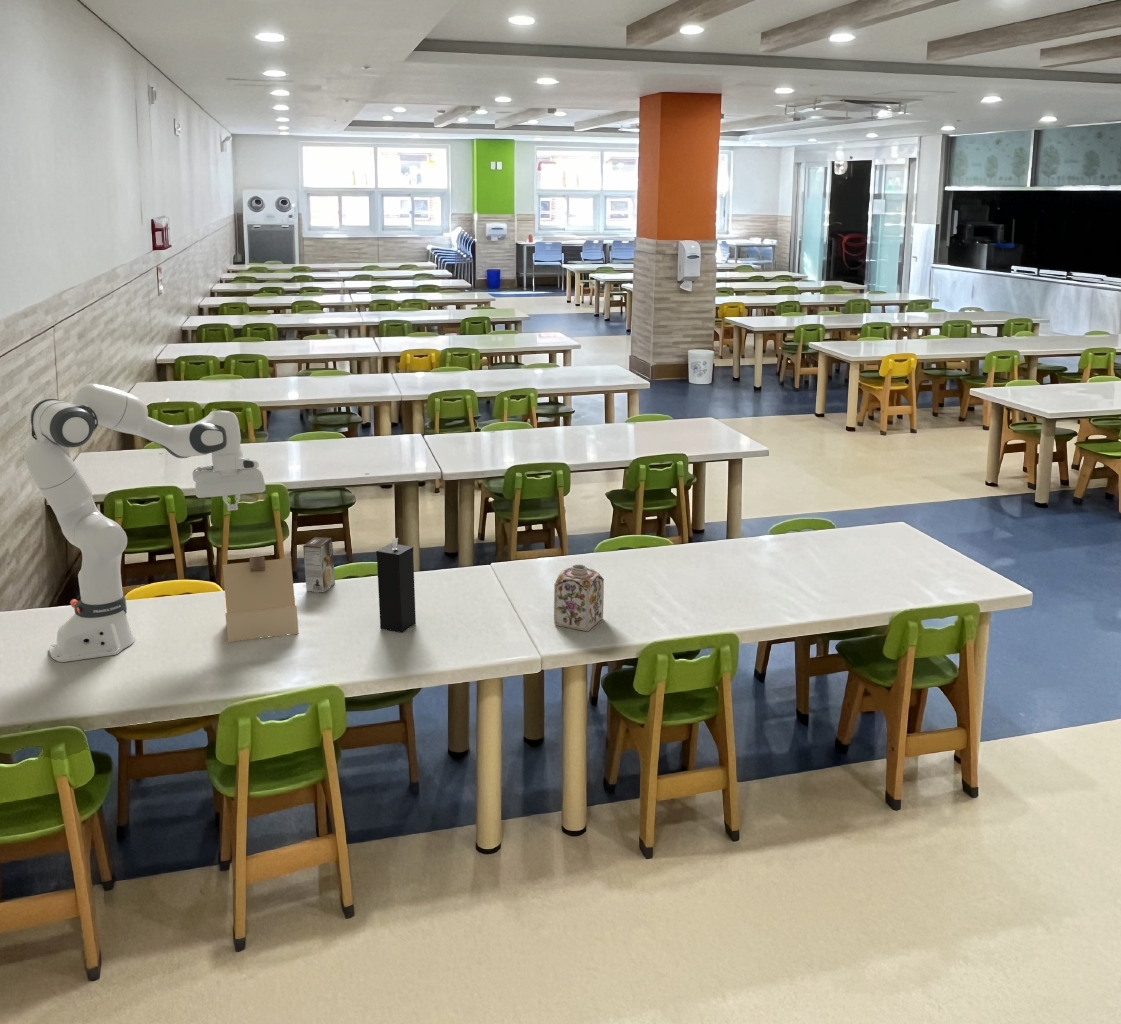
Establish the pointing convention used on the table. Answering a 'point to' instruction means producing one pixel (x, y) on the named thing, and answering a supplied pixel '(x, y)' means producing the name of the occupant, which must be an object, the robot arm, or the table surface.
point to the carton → (261, 623)
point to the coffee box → (319, 564)
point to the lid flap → (258, 584)
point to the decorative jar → (578, 598)
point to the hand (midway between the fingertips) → (232, 510)
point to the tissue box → (396, 587)
